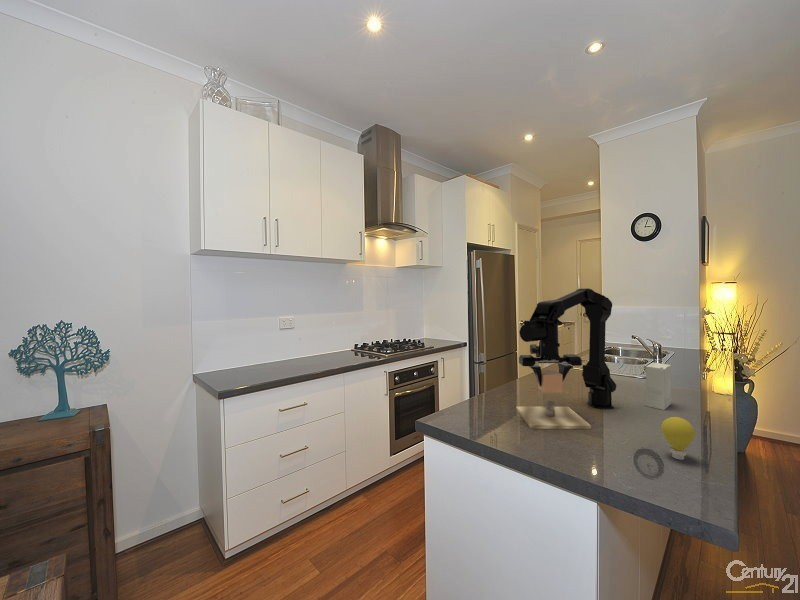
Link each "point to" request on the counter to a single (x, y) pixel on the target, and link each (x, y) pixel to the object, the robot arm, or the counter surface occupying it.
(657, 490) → the counter surface
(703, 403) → the counter surface
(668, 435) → the light bulb
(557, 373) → the tan cardboard-like cube
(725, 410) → the counter surface
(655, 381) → the skincare box
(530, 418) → the post base
